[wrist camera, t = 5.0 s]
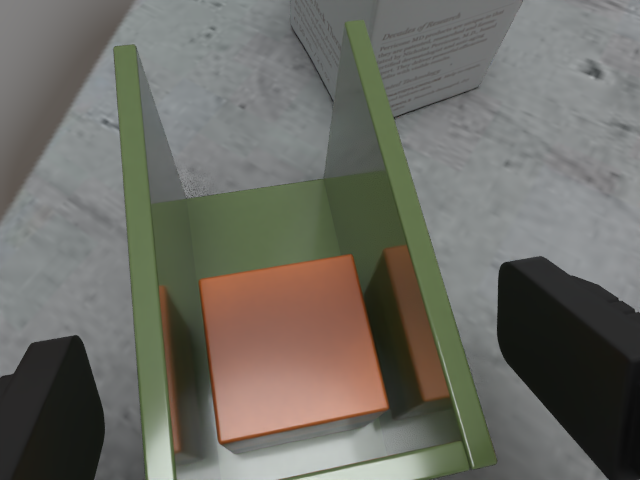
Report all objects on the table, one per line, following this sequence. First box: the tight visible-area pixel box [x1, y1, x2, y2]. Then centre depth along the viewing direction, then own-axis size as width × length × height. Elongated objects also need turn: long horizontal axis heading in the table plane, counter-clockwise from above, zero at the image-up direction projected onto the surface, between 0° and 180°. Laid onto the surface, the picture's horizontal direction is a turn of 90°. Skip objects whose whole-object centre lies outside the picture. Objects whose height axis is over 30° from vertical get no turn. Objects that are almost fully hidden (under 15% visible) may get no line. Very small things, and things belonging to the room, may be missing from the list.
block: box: [198, 254, 389, 454], centre depth 15 cm, size 4×4×4 cm
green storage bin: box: [113, 20, 497, 480], centre depth 15 cm, size 10×6×8 cm, turn 11°
